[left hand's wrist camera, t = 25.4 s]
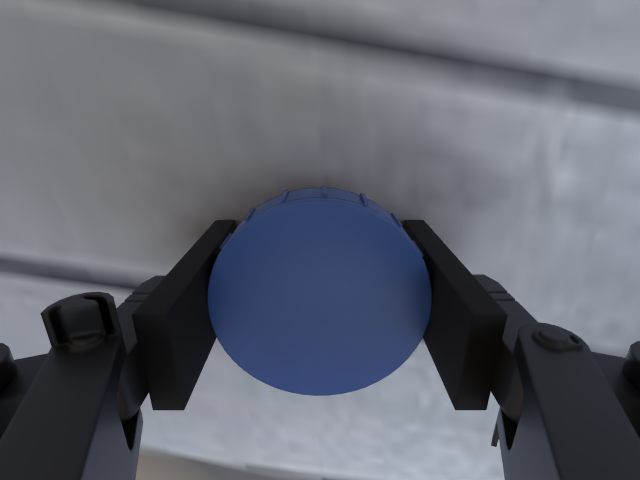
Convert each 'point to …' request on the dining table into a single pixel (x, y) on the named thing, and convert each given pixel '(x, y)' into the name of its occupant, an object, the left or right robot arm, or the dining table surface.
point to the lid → (319, 292)
